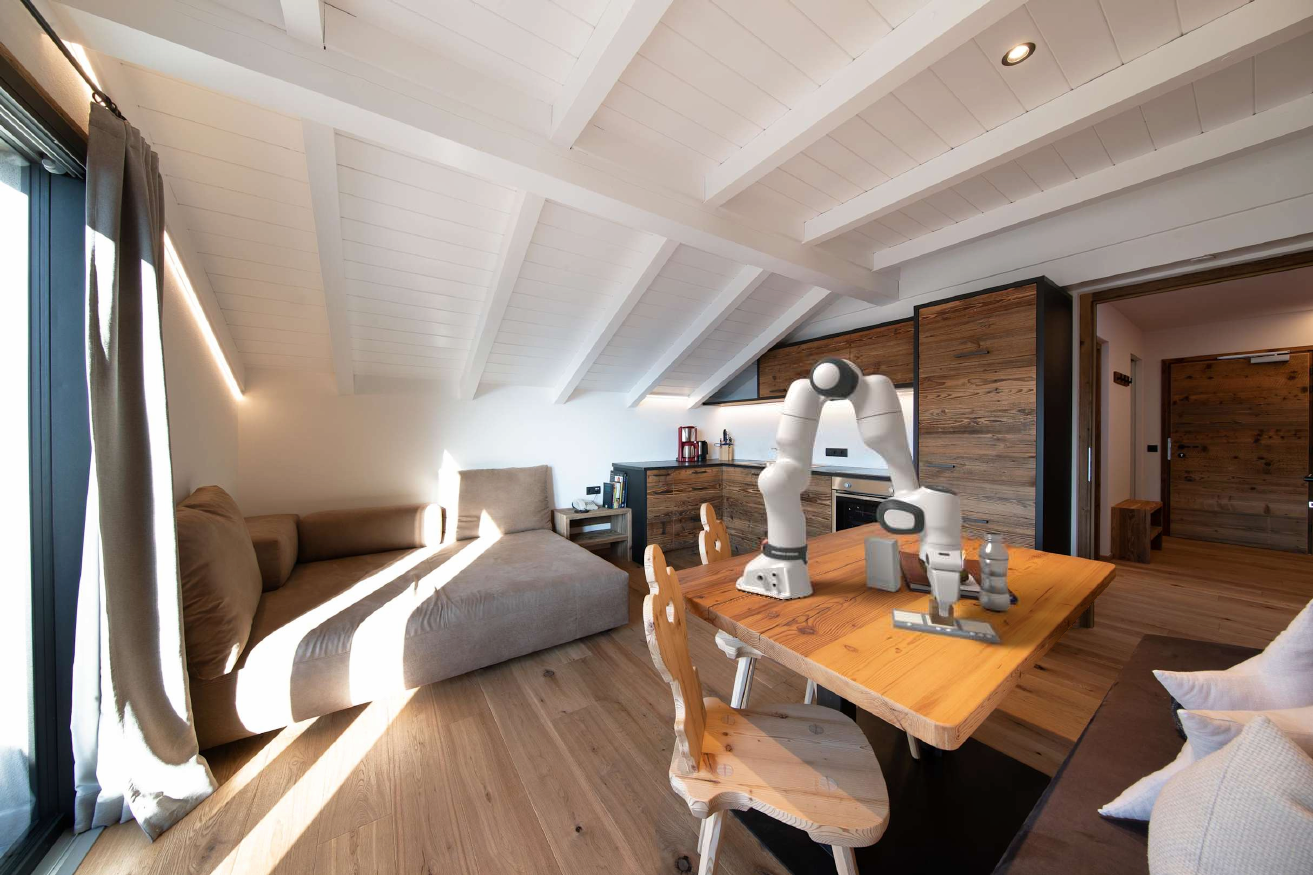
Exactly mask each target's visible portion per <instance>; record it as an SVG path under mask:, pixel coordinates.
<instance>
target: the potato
mask: <svg viewBox="0 0 1313 875" xmlns="http://www.w3.org/2000/svg"><path fill="white" fill-rule="evenodd" d="M917 560H918V564H919V567H920V569H921V570H922V571H923V572H924V573H925V574H927V566H926V565H925V561H924V560H922V559H921V558H920V557H919V556H918V559H917ZM959 572H960V584H964V583H966V582H968V581H969V580H970V575H969V572H968V571H967V569H965V568H964V567H963V570H962V571H959Z"/></svg>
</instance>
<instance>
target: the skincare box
mask: <svg viewBox="0 0 1313 875" xmlns="http://www.w3.org/2000/svg"><path fill="white" fill-rule="evenodd" d="M863 542H864V544H863V546H864V556H865V557H864V560H865V562H864V563H865V576H866V587H869V588H874V589H879V590H883V591H888V592H893V593H895V592H896V591H897V590H899V589H900V588H901V586H902V585H901V584H902V583H901V582H902V581H901V570H900V569H901V567H900V554H899V553H900V552H899V551H900V550H899V539H898V538H891V537H883V536H874V535H870V536H868V537H866V538H864V540H863Z"/></svg>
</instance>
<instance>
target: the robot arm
mask: <svg viewBox="0 0 1313 875" xmlns="http://www.w3.org/2000/svg"><path fill="white" fill-rule="evenodd" d="M808 377H809V378H800V379H797V380H795V381H793V382H792V383H791V384H790V386H789V388H788V390H787V393H786V395H785V398H784V401H783V405H782V408H781V412H780V417H779V421H778V426H777V430H776V436H775V441H776V460H775V462H774V463H771V464H769V465H767V466H766V467H765V468H763V470H762V471H761V472H760V474H759V475H758V478H757V486H758V489H759V491H760V494H761V495H762V497H763V502H764V507H765V511H766V517H767V518H766V519H767V538H765V539H764V540H763V541H762V542H761V546H760V550H761V553H760V554H759V555H758V556H756V557H755V558H753V559H752V560H751V561H749V562H748V563H747V564H746V565H745V568H744V570H743V571H744V572H743V576H740V577H739V578H738V580H736V583H735V588H736V587H737V588H738V589H742V590H745V591H750V592H754V593H759V594H764V595H769V596H773V597H776V598H780V599H789V598H792V599H799V598H798V597H800V598H805V597H808V596H811V594H813V587H812V584H811V580H810V575H809V570H808V568H809V567H808V563H809V547H808V544H807V534H806V533H807V529H806V528H807V526H806V525H807V523H806V521H807V520H806V519H807V518H806V516H805V514H804V512H803V506H802V501H801V493H803V492H805V491H806V489H808V487H809V485H810V483H811V480H812V467H813V454H814V446H815V441H816V437H817V432H818V429H819V428H818V427H819V424H820V420H821V415H822V412H823V408H824V406H825V404H826V403H827V402H828V401H829V402H833V401H834V402H836V401H844V400H845V401H846V400H848V401H849V402H850V403H851V404H852V408H853V409H854V410H853V411H854V414H855V419H856V424H857V428H858V432H859V435H860V437H861V440H862V441H863V443H864V445H865V446H867V447H868V448H869V449H871V450H872V451H874V452H875V453H877V454H878V455H879V456H880V457H881V458H882V459H883V460H884V461H885V463H886V466H887V469H888V473H889V476H890V480H891V484H892V487H893V491H894V495H893V496H891V497H889V498H886V499H885V500H883V501H882V502H880V504H879V505H878V507H877V509H876V519H877V522H878V524H879V526H880V527H881V528H882V529H883V530H884V531H885V532H887V533H889V534H891V535H897V536H905V535H909V536H910V535H911V536H912V535H917V536H918V544H919V545H918V553H919V554H918V558H919V557H920V558H921V559H922V560H924V561H925V565H926V566H927V573H926V575H927V578H928V580H929V583H930V587H931V586H932V588H933V593H934V596H933V599H936V600H937V601H938V602H939V606H938V608H939V614H940V616H945V617H947V616H948V609H949V605H952V606H955V605H956V604H957V602H958V600H957V599H958V590H959V571H962V570H963V568H964V566H963V564H964V563H963V539H962V537H961V530H962V527H963V516H962V514H963V513H962V505H961V500H960V497H959V494H958V493H957V492H956V491H955V490H953V489H951V488H949V487H946V486H941V485H938V484H937V485H934V484H924V485H923V486H921V484H920V480H919V478H918V474H917V471H916V470H917V469H916V466H915V463H914V460H913V455H912V452H911V450H910V445H909V440H908V434H907V429H906V424H905V423H906V422H905V417H904V412H903V409H902V405H901V401H900V398H899V395H898V393H897V390H896V389H895V386H894V384H893V381H892V380H891V379H890V378H889V377H887V376H886V375H882V374H871V375H866V376H865V373H864V371H863V370H862V369H861V367H859V366H858V365H857V364H855V363H853V362H851V361H850V360H848V359H845V358H843V359H842V358H839V357H834V356H833V357H832V356H831V357H826V358H823V359H820V360H818V361H817V362H816V363H814V365H813V367H812V368H811V370H810V373H809V376H808ZM804 596H805V597H804ZM789 600H790V599H789Z"/></svg>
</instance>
